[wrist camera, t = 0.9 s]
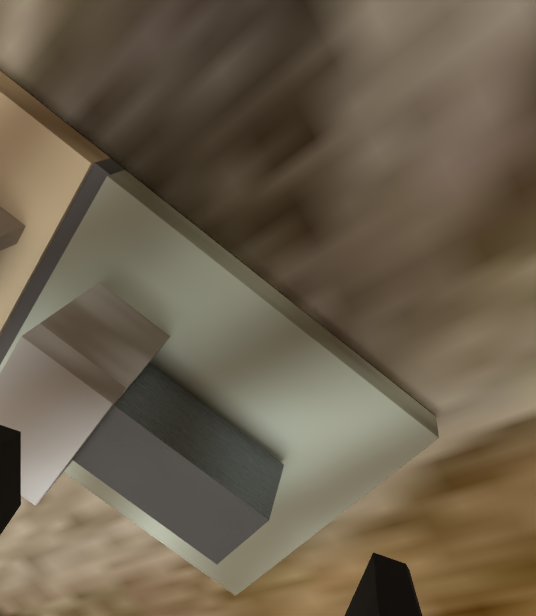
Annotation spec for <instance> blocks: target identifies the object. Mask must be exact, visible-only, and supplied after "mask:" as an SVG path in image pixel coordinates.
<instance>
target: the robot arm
mask: <svg viewBox="0 0 536 616" xmlns="http://www.w3.org/2000/svg"><path fill="white" fill-rule="evenodd" d="M20 505H21V432H20V431H17V430H14V429H11V428H8V427H5V426H2V425H0V534H1V533H2V532H3V530H4V529H5V527H6V526H7V524H8V523H9V521H10V520H11V518H12V517H13V515H14V514H15V512H16V511H17V509H18V508H19V506H20ZM345 616H422V613H421V610H420V606H419V603H418V599H417V596H416V592H415V589H414V585H413V582H412V578H411V574H410V570H409V569H408V567H407V565H406V564H405V563H402V562H399V561H396V560H393V559H390V558H387V557H384V556H382V555H379V554H376V553H373V554H372V557H371V559H370V561H369V563H368V565H367V568H366V570H365V572H364V574H363V576H362V579H361V581H360V583H359V585H358V587H357V590H356V592H355V594H354V596H353V598H352V601H351V603H350V605H349V607H348V609H347V612H346V614H345Z"/></svg>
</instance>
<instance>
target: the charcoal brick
mask: <svg viewBox="0 0 536 616" xmlns="http://www.w3.org/2000/svg"><path fill="white" fill-rule="evenodd" d="M72 460H73V461H74V462H76V463H77V464H79V465H80V466H81V467H83V468H84V469H86V470H87V471H88V472H90V473H91V474H92V475H94V476H95V477H97V478H98V479H99V480H101V481H102V482H103V483H105V484H106V485H108V486H109V487H110V488H112V489H113V490H115V491H116V492H117V493H119V494H120V495H121V496H123V497H124V498H126V499H127V500H128V501H130V502H131V503H132V504H134V505H135V506H137V507H138V508H139V509H141V510H142V511H144V512H145V513H146V514H148V515H149V516H150V517H152V518H153V519H155V520H156V521H157V522H159V523H160V524H161V525H163V526H164V527H166V528H167V529H168V530H170V531H171V532H173V533H174V534H175V535H177V536H178V537H179V538H181V539H182V540H184V541H185V542H186V543H188V544H189V545H190V546H192V547H193V548H195V549H196V550H197V551H199V552H200V553H202V554H203V555H204V556H206V557H207V558H208V559H210V560H211V561H213V562H214V563H215V564H218V563H220V562H221V561H222V560H223V559H224V558H225V557H227V556H228V555H229V554H230V553H231V552H232V551H234V550H235V549H236V548H237V547H238V546H240V545H241V544H242V543H243V542H244V541H245V540H247V539H248V538H249V537H250V536H251V535H253V534H254V533H255V532H256V531H257V530H258V529H260V528H261V527H262V526H263V525H264V524H265V523H267V522H268V521H269V519H270V515H271V512H272V508H273V504H274V501H275V497H276V493H277V490H278V486H279V482H280V479H281V475H282V471H283V468H284V464H282V463H281V462H280V461H279V460H277V459H276V458H275V457H273V456H272V455H271V454H269V453H268V452H267V451H265V450H264V449H263V448H261V447H260V446H259V445H257V444H256V443H255V442H253V441H252V440H251V439H249V438H248V437H247V436H246V435H244V434H243V433H242V432H240V431H239V430H238V429H236V428H235V427H234V426H232V425H231V424H230V423H228V422H227V421H226V420H224V419H223V418H222V417H220V416H219V415H218V414H216V413H215V412H214V411H212V410H211V409H210V408H209V407H207V406H206V405H205V404H203V403H202V402H201V401H199V400H198V399H197V398H195V397H194V396H193V395H191V394H190V393H189V392H187V391H186V390H185V389H183V388H182V387H181V386H179V385H178V384H177V383H175V382H174V381H173V380H172V379H170V378H169V377H168V376H166V375H165V374H164V373H162V372H161V371H160V370H158V369H157V368H156V367H154V366H153V365H152V364H150V363H149V364H148V365H147V366H146V367H145V368H144V370H143V371H142V372H141V373H140V374H139V375H138V377H137V378H136V379H135V380H134V381H133V382H132V384H131V385H130V386H129V387H128V388H127V390H126V391H125V392H124V393H123V394H122V395H121V397H120V398H119V399H118V400H117V401H116V402H115V404H114V405H113V406H112V407H111V409H110V410H109V411H108V413H107V414H106V415H105V417H104V418H103V419H102V421H101V422H100V423H99V425H98V426H97V427H96V428H95V430H94V431H93V432H92V434H91V435H90V436H89V438H88V439H87V440H86V442H85V443H84V444H83V446H82V447H81V448H80V450H79V451H78V452H77V453H76V455H75V456H74V457H73V459H72Z"/></svg>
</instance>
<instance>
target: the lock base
mask: <svg viewBox="0 0 536 616" xmlns="http://www.w3.org/2000/svg"><path fill="white" fill-rule="evenodd" d="M149 363H150V364H152V365H153V366H154V367H156V368H157V369H158V370H160V371H161V372H162V373H164V374H165V375H166V376H168V377H169V378H170V379H172V380H173V381H174V382H175V383H177V384H178V385H179V386H181V387H182V388H183V389H185V390H186V391H187V392H189V393H190V394H191V395H193V396H194V397H195V398H197V399H198V400H199V401H201V402H202V403H203V404H205V405H206V406H207V407H209V408H210V409H211V410H212V411H214V412H215V413H216V414H218V415H219V416H220V417H222V418H223V419H224V420H226V421H227V422H228V423H230V424H231V425H232V426H234V427H235V428H236V429H238V430H239V431H240V432H242V433H243V434H244V435H246V436H247V437H248V438H249V439H251V440H252V441H253V442H255V443H256V444H257V445H259V446H260V447H261V448H263V449H264V450H265V451H267V452H268V453H269V454H271V455H272V456H273V457H275V458H276V459H277V460H279V461H280V462H281V463H282V464H284V468H283V471H282V475H281V479H280V482H279V486H278V490H277V493H276V497H275V501H274V504H273V508H272V512H271V515H270V519H269V521H268V522H267V523H265V524H264V525H263V526H262V527H261V528H260V529H258V530H257V531H256V532H255V533H254V534H253V535H251V536H250V537H249V538H248V539H247V540H245V541H244V542H243V543H242V544H241V545H240V546H238V547H237V548H236V549H235V550H234V551H232V552H231V553H230V554H229V555H228V556H227V557H225V558H224V559H223V560H222V561H221V562H220V563H218V564H215V563H214V562H213V561H211V560H210V559H208V558H207V557H206V556H204V555H203V554H202V553H200V552H199V551H197V550H196V549H195V548H193V547H192V546H190V545H189V544H188V543H186V542H185V541H184V540H182V539H181V538H179V537H178V536H177V535H175V534H174V533H173V532H171V531H170V530H168V529H167V528H166V527H164V526H163V525H161V524H160V523H159V522H157V521H156V520H155V519H153V518H152V517H150V516H149V515H148V514H146V513H145V512H144V511H142V510H141V509H139V508H138V507H137V506H135V505H134V504H132V503H131V502H130V501H128V500H127V499H126V498H124V497H123V496H121V495H120V494H119V493H117V492H116V491H115V490H113V489H112V488H110V487H109V486H108V485H106V484H105V483H103V482H102V481H101V480H99V479H98V478H97V477H95V476H94V475H92V474H91V473H90V472H88V471H87V470H86V469H84V468H83V467H81V466H80V465H79V464H77V463H76V462H74V461H73V460H72V459H73V457H74V456H75V455H76V453H77V452H78V451H79V450H80V448H81V447H82V446H83V444H84V443H85V442H86V440H87V439H88V438H89V436H90V435H91V434H92V432H93V431H94V430H95V428H96V427H97V426H98V425H99V423H100V422H101V421H102V419H103V418H104V417H105V415H106V414H107V413H108V411H109V410H110V409H111V407H112V406H113V405H114V404H115V402H116V401H117V400H118V399H119V398H120V397H121V395H122V394H123V393H124V392H125V391H126V390H127V388H128V387H129V386H130V385H131V384H132V382H133V381H134V380H135V379H136V378H137V377H138V375H139V374H140V373H141V372H142V371H143V370H144V368H145V367H146V366H147V365H148V364H149ZM0 425H2V426H5V427H8V428H11V429H14V430H17V431H20V432H21V496H23V497H24V498H25V499H27V500H28V501H30V502H31V503H32V504H34V505H35V506H36V504H37V503H38V502H39V501H40V500H41V498H42V497H43V496H44V495H45V494H46V492H47V491H48V490H49V489H50V488H51V486H52V485H53V484H54V483H55V482H56V480H57V479H58V478H59V477H60V476H61V474H62V473H63V472H64V473H66V474H67V475H68V476H70V477H71V478H73V479H74V480H75V481H77V482H78V483H79V484H81V485H82V486H84V487H85V488H86V489H88V490H89V491H91V492H92V493H93V494H95V495H96V496H98V497H99V498H100V499H102V500H103V501H104V502H106V503H107V504H109V505H110V506H111V507H113V508H114V509H116V510H117V511H118V512H120V513H121V514H123V515H124V516H125V517H127V518H128V519H129V520H131V521H132V522H134V523H135V524H136V525H138V526H139V527H141V528H142V529H143V530H145V531H146V532H147V533H149V534H150V535H152V536H153V537H154V538H156V539H157V540H159V541H160V542H161V543H163V544H164V545H166V546H167V547H168V548H170V549H171V550H172V551H174V552H175V553H177V554H178V555H179V556H181V557H182V558H184V559H185V560H186V561H188V562H189V563H191V564H192V565H193V566H195V567H196V568H197V569H199V570H200V571H202V572H203V573H204V574H206V575H207V576H209V577H210V578H211V579H213V580H214V581H216V582H217V583H218V584H220V585H221V586H222V587H224V588H225V589H227V590H228V591H229V592H231V593H232V594H234V595H235V596H236V595H237V594H238V593H240V592H241V591H242V590H244V589H245V588H246V587H247V586H249V585H250V584H251V583H253V582H254V581H255V580H256V579H258V578H259V577H260V576H262V575H263V574H264V573H265V572H267V571H268V570H269V569H271V568H272V567H273V566H274V565H276V564H277V563H278V562H280V561H281V560H282V559H283V558H285V557H286V556H287V555H289V554H290V553H291V552H292V551H294V550H295V549H296V548H298V547H299V546H300V545H301V544H303V543H304V542H305V541H307V540H308V539H309V538H310V537H312V536H313V535H314V534H316V533H317V532H318V531H320V530H321V529H322V528H323V527H325V526H326V525H327V524H329V523H330V522H331V521H332V520H334V519H335V518H336V517H338V516H339V515H340V514H341V513H343V512H344V511H345V510H347V509H348V508H349V507H350V506H352V505H353V504H354V503H356V502H357V501H358V500H359V499H361V498H362V497H363V496H365V495H366V494H367V493H368V492H370V491H371V490H372V489H374V488H375V487H376V486H377V485H379V484H380V483H381V482H383V481H384V480H385V479H386V478H388V477H389V476H390V475H392V474H393V473H394V472H395V471H397V470H398V469H399V468H401V467H402V466H403V465H404V464H406V463H407V462H408V461H410V460H411V459H412V458H413V457H415V456H416V455H417V454H419V453H420V452H421V451H422V450H424V449H425V448H426V447H428V446H429V445H430V444H432V443H433V442H434V441H435V440H437V439H438V438H439V436H438V429H437V422H436V416H434V415H433V414H432V413H431V412H429V411H428V410H427V409H426V408H424V407H423V406H422V405H421V404H419V403H418V402H417V401H416V400H414V399H413V398H412V397H410V396H409V395H408V394H407V393H405V392H404V391H403V390H402V389H400V388H399V387H398V386H397V385H395V384H394V383H393V382H392V381H390V380H389V379H388V378H387V377H385V376H384V375H383V374H382V373H380V372H379V371H378V370H377V369H375V368H374V367H373V366H371V365H370V364H369V363H368V362H366V361H365V360H364V359H363V358H361V357H360V356H359V355H358V354H356V353H355V352H354V351H353V350H351V349H350V348H349V347H348V346H346V345H345V344H344V343H343V342H341V341H340V340H339V339H337V338H336V337H335V336H334V335H332V334H331V333H330V332H329V331H327V330H326V329H325V328H324V327H322V326H321V325H320V324H319V323H317V322H316V321H315V320H314V319H312V318H311V317H310V316H309V315H307V314H306V313H305V312H303V311H302V310H301V309H300V308H298V307H297V306H296V305H295V304H293V303H292V302H291V301H290V300H288V299H287V298H286V297H285V296H283V295H282V294H281V293H280V292H278V291H277V290H276V289H275V288H273V287H272V286H271V285H269V284H268V283H267V282H266V281H264V280H263V279H262V278H261V277H259V276H258V275H257V274H256V273H254V272H253V271H252V270H251V269H249V268H248V267H247V266H246V265H244V264H243V263H242V262H241V261H239V260H238V259H237V258H236V257H234V256H233V255H232V254H230V253H229V252H228V251H227V250H225V249H224V248H223V247H222V246H220V245H219V244H218V243H217V242H215V241H214V240H213V239H212V238H210V237H209V236H208V235H207V234H205V233H204V232H203V231H202V230H200V229H199V228H198V227H196V226H195V225H194V224H193V223H191V222H190V221H189V220H188V219H186V218H185V217H184V216H183V215H181V214H180V213H179V212H178V211H176V210H175V209H174V208H173V207H171V206H170V205H169V204H168V203H166V202H165V201H164V200H162V199H161V198H160V197H159V196H157V195H156V194H155V193H154V192H152V191H151V190H150V189H149V188H147V187H146V186H145V185H144V184H142V183H141V182H140V181H139V180H137V179H136V178H135V177H134V176H132V175H131V174H130V173H129V172H127V171H126V170H125V169H123V168H122V167H121V166H120V165H118V164H117V163H116V162H115V161H113V160H112V159H111V158H110V157H108V156H107V155H106V154H105V153H103V152H102V151H101V150H100V149H98V148H97V147H96V146H95V145H93V144H92V143H91V142H89V141H88V140H87V139H86V138H84V137H83V136H82V135H81V134H79V133H78V132H77V131H76V130H74V129H73V128H72V127H71V126H69V125H68V124H67V123H66V122H64V121H63V120H62V119H61V118H59V117H58V116H57V115H55V114H54V113H53V112H52V111H50V110H49V109H48V108H47V107H45V106H44V105H43V104H42V103H40V102H39V101H38V100H37V99H35V98H34V97H33V96H32V95H30V94H29V93H28V92H27V91H25V90H24V89H23V88H22V87H20V86H19V85H18V84H16V83H15V82H14V81H13V80H11V79H10V78H9V77H8V76H6V75H5V74H4V73H3V72H1V71H0Z"/></svg>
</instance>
